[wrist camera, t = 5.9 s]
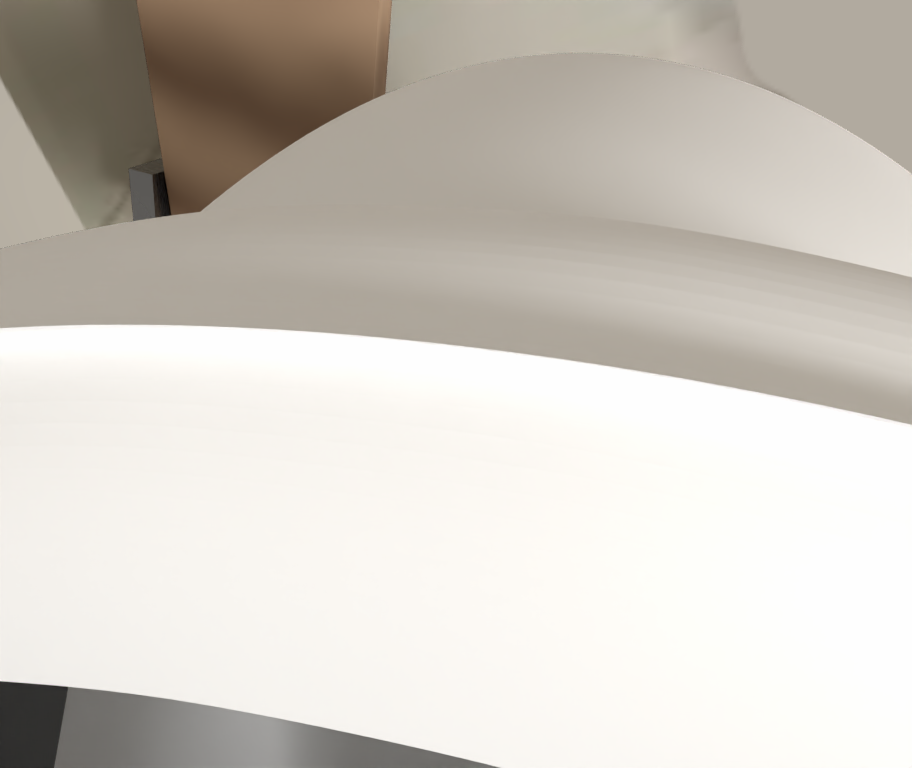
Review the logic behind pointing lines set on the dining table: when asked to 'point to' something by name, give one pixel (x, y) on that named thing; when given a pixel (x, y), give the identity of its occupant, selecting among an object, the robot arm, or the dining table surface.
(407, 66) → the dining table surface
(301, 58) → the beam
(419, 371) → the jar
